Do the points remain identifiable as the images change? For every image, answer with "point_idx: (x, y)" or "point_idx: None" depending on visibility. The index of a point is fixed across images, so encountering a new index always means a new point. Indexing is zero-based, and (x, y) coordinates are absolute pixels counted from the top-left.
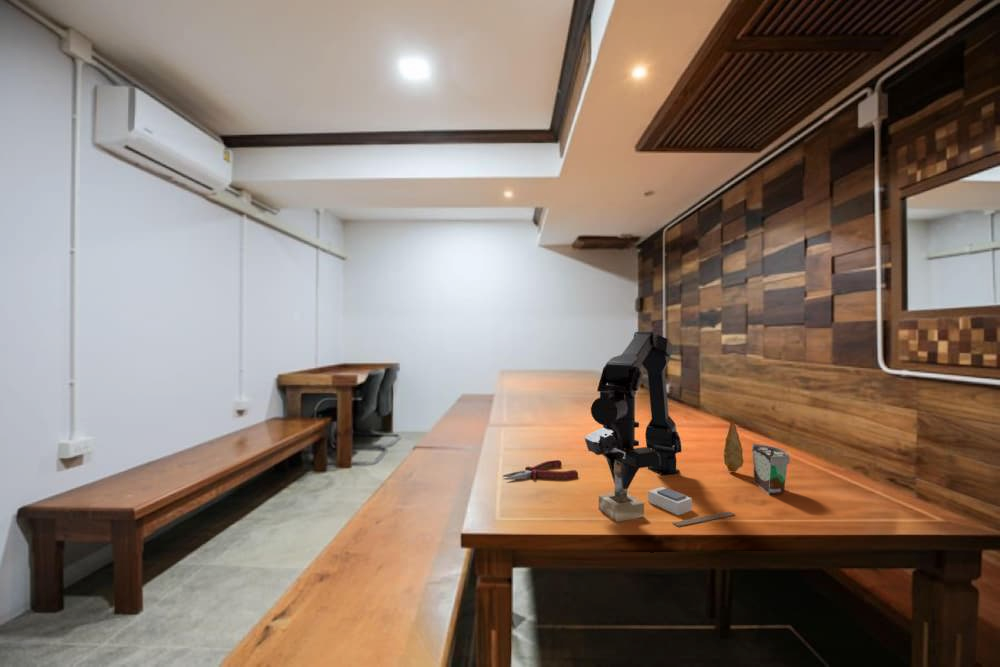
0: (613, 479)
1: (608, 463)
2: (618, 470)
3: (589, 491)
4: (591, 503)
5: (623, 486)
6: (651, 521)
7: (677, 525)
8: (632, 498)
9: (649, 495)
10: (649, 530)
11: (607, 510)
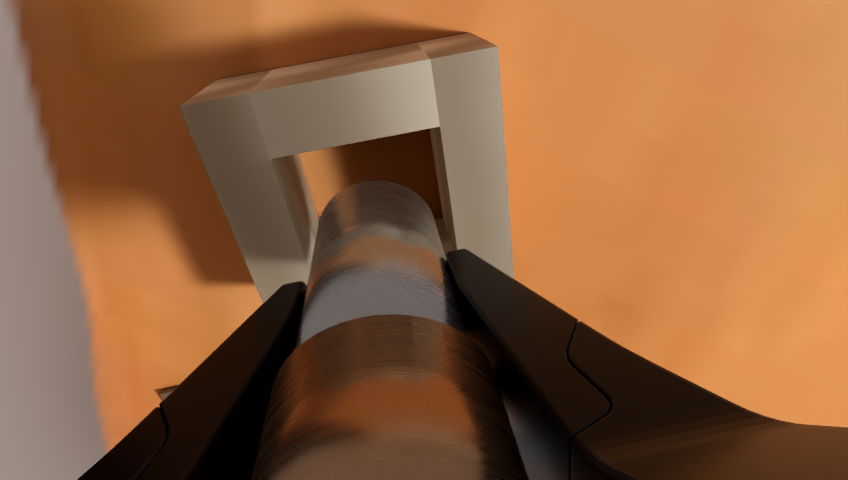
0: (475, 263)
1: (643, 369)
2: (285, 410)
3: (767, 98)
4: (573, 13)
5: (278, 294)
6: (229, 299)
7: (166, 394)
8: None
9: None
10: (94, 239)
11: (345, 61)
